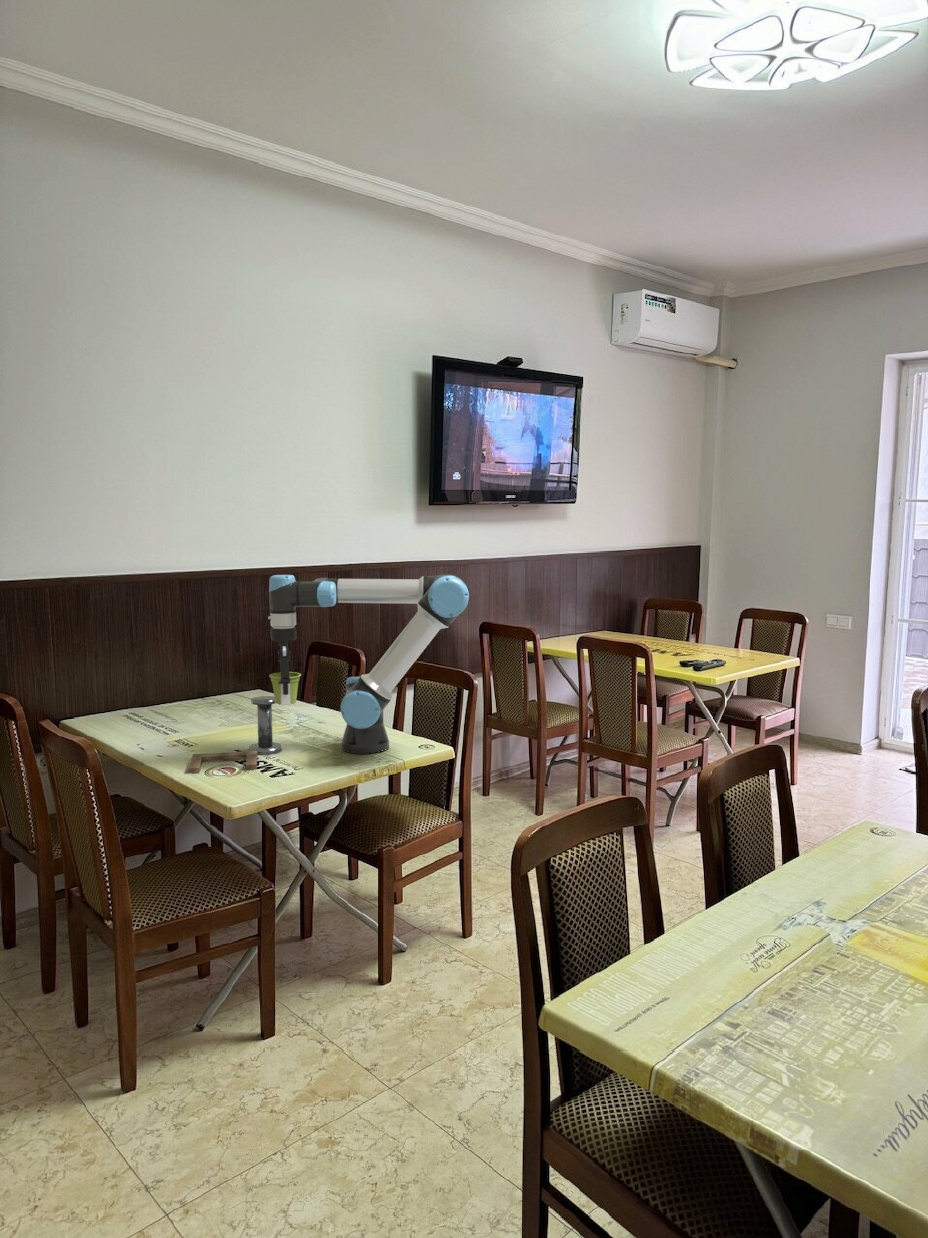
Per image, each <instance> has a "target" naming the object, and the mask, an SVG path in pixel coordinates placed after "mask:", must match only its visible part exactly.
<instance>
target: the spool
mask: <svg viewBox="0 0 928 1238" xmlns="http://www.w3.org/2000/svg"><path fill="white" fill-rule="evenodd" d="M250 700H251V705H255V706H256V708H257V710H256V711H257V712H256V714H257V742H256V743H254V744H251V745H249V747H248V751H257V756H269V755H275V754H276V755H277V754H279V753H281V752H282V751H283V748H282V744H281V743H280V742H279V743H278V742H273V708H272V707H273V705H275V704H276V703H275V697H274V695H273V696H272V695H264V696H263V695H262V696H254V697H252V698H250Z"/></svg>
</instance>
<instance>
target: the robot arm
mask: <svg viewBox="0 0 928 1238" xmlns="http://www.w3.org/2000/svg"><path fill="white" fill-rule="evenodd" d="M268 581H269V584H268V585H269V586H268V588H269V589H268V595H269V596H268V597H269V599H268V600H269V615H268V617H267V619H268V620H270V626H271V627H270V629H269V630H270V640H271V641H272V642H279V644H278V645H277V648H276V649H277V655H278V657H277V658H278V662H279V667H280V668H279V669H280V670H279V673H280V672H281V681H279V684H281V705H280V706H291V705H292V704H291V699H290V676H289V672H290V661H291V652H292V647H291V645H289V642H292V641H295V640H296V639H297V628H296V627H295V626H296V625H297V612H296V608H301V607H302V608H305V607H306V608H307V607H309V608H311V607H312V608H321V607H322V608H327V607H334V606H335V605H336V604H339V603H340V604H342V603H343V604H345V603H346V604H411V605H412V604H413V605H414V604H416V605H417V611H416V613H415V615H413V617H412V618H411V619H410V620H409V622H408V623H407V625H406V626H405V627H404V628H403V629H402V631H401V632H400V634H399V635H398V636H397V637H396V638H395V640H394V641H393V643H392V644H391V645H390V646H389V647H388V649H387V650H386V651H385V652H384V654H383V655H382V657H381V658H380V659H379V660H378V662H377V663H376V664H375V666H374V667H373V668H372V669H371V671H370V672H369V673H365V674H361V675H360V676H349V677H347V678H346V682H345V690H346V691H345V692H346V693H345V695H344V697H343V698H342V700H341V703H340V713H341V717H342V718H343V720H344V721H345V723H346V726H345V729H344V732H343V736H342V739H341V743H340V746H341V750H342V751H343V752H346V753H349V754H359V755H368V754H369V753H371V754H376V753H375V752H378V753H380V752H379V751H382V750H385V749H387V748H390V740H389V737H388V733H387V731H386V727H385V725H384V723H385V722H384V709H385V708H386V707H387V706H388V705H389V703H390V702H391V700H392V699H393V695H392V693H393V690H394V689H395V688H396V686H397V685H398V683H400V681H401V680H402V678H403V677H405V674H407V672H408V671H409V669H410V668H412V666H413V665H414V663H415V662H416V661H417V659H419V657H420V656H421V654H422V653H423V652H424V650H425V649H426V648H427V646H429V645H430V643H431V642H432V641H433V639H434V638H435V636H437V634H438V633H439V631H440V630H443V629H447V628H449V627H450V626H451V625H452V623H453V622H454V621H455V619H456V618H457V617H458V616H459V615H460V614H462V613H463V612H464V611H465V610H466V608H467V606H468V604H469V599H470V593H469V590H468V586H467V585H466V583H465V581H464V580H463V579H461V578H460V577H459V576H457V575H454V574H451V573H450V574H449V573H445V574H439V575H423V576H421V577H420V578H418V579H415V578H414V579H413V578H412V579H411V578H409V579H406V578H402V579H400V578H399V579H397V578H395V579H394V578H327V577H319V578H315V579H314V580H312V581H296V577H295V576H294V575H293V574H274V575H272V576H270V578H269V580H268ZM283 678H286V679H283ZM387 750H388V749H387ZM385 751H386V750H385Z"/></svg>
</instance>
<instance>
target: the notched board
mask: <svg viewBox="0 0 928 1238" xmlns="http://www.w3.org/2000/svg"><path fill="white" fill-rule="evenodd" d="M241 760H242V761H244V760H245V771H255V770H254V769H257V768H258V767H257V765H258V755H257V751H249V750H246V751H244V750H243V751H227V752H224V751H223V752H209V753H208V752H207V753H193V754H192V756H191V758H190V762H189V765H188V767H187V769H188V770H187V773H192V774H199V773H201V768H202V764H203V763H206V762H227V761H241Z"/></svg>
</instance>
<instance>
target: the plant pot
mask: <svg viewBox="0 0 928 1238" xmlns="http://www.w3.org/2000/svg"><path fill="white" fill-rule="evenodd" d="M289 676H290V699H291V705H295V704H296V703H297V697H298V689H299V681H300V678H301V676H302V674H301V673H299V672H293V671H289ZM268 677H269V678H270V682H271V683H272V689H273V696H274V697H275V704H277V705H280V706H281V684H279V681H281V672H280V671H279V672H274V673H271V674H269V676H268ZM283 679H286V678H283Z"/></svg>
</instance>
